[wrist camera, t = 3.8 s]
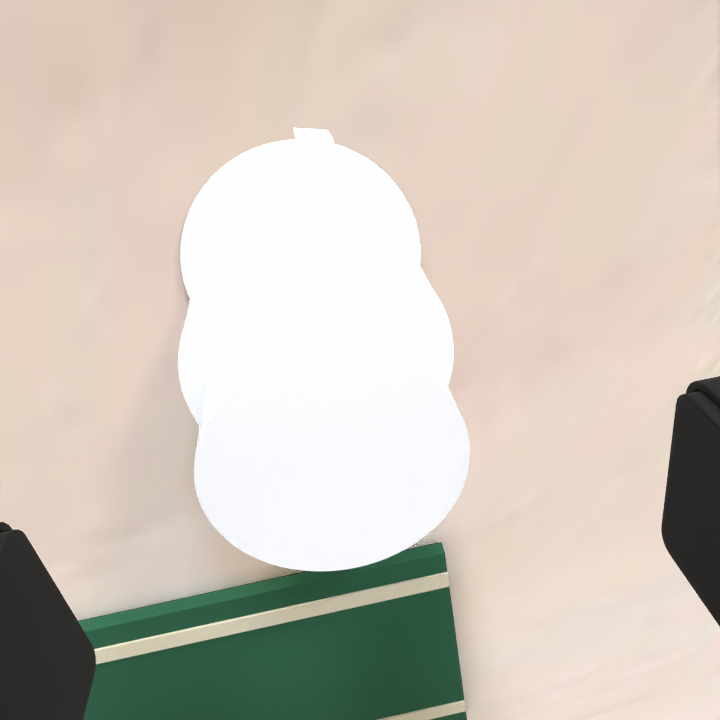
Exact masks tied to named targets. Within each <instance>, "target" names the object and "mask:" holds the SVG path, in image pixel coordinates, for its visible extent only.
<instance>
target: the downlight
mask: <svg viewBox="0 0 720 720" xmlns="http://www.w3.org/2000/svg"><path fill="white" fill-rule="evenodd" d="M293 130H294V133H295V137H296V139H292V140H282V141H277V142H272V143H268V144H265V145H262V146H258V147H256V148H253V149H251V150H249V151H246V152H244V153H243V154H241V155H239V156H237V157H235V158H234V159H232V160H231V161H230V162H228V163H227V164H225V165H224V166H223V167H222V168H221V169H219V170H218V171H217V172H216V173H215V174H214V175H213V176H212V177H211V178H210V179H209V180H208V181H207V183H206V184H205V185H204V187H203V188H202V189H201V191H200V192H199V194H198V195H197V197H196V199H195V200H194V202H193V204H192V206H191V209H190V211H189V213H188V216H187V219H186V222H185V225H184V229H183V233H182V238H181V248H180V262H181V270H182V276H183V280H184V284H185V287H186V290H187V293H188V296H189V298H190V302H189V306H188V311H187V315H186V319H185V323H184V327H183V331H182V335H181V340H180V344H179V353H178V372H179V380H180V384H181V388H182V392H183V395H184V398H185V401H186V403H187V405H188V407H189V409H190V411H191V413H192V415H193V416H194V418H195V420H196V421H197V423H198V424H199V425H200V426H199V433H198V440H197V447H196V454H195V461H194V482H195V488H196V492H197V496H198V499H199V502H200V504H201V507H202V509H203V511H204V513H205V514H206V516H207V518H208V519H209V521H210V522H211V523H212V525H213V526H214V527H215V528H216V530H217V531H218V532H219V533H220V534H221V535H222V536H223V537H224V538H225V539H226V540H228V541H229V542H230V543H231V544H233V545H234V546H235V547H237V548H238V549H240V550H242V551H243V552H245V553H247V554H248V555H250V556H252V557H255V558H257V559H259V560H261V561H264V562H267V563H269V564H273V565H276V566H280V567H284V568H289V569H295V570H303V571H337V570H345V569H352V568H357V567H361V566H365V565H369V564H372V563H375V562H378V561H381V560H384V559H386V558H389V557H391V556H393V555H395V554H397V553H399V552H401V551H403V550H405V549H407V548H408V547H410V546H412V545H413V544H415V543H416V542H418V541H419V540H421V539H422V538H423V537H424V536H426V535H427V534H428V533H429V532H431V531H432V530H433V529H434V528H435V527H436V526H437V525H438V524H439V523H440V522H441V521H442V520H443V519H444V518H445V516H446V515H447V514H448V512H449V511H450V510H451V508H452V507H453V505H454V504H455V502H456V501H457V499H458V497H459V495H460V493H461V491H462V489H463V486H464V483H465V481H466V477H467V473H468V469H469V462H470V443H469V436H468V432H467V428H466V425H465V422H464V420H463V417H462V415H461V413H460V411H459V409H458V407H457V405H456V403H455V401H454V398H453V396H452V394H451V392H450V390H449V388H448V384H449V381H450V377H451V373H452V368H453V359H454V345H453V335H452V331H451V326H450V322H449V319H448V316H447V314H446V311H445V309H444V307H443V305H442V303H441V301H440V299H439V298H438V296H437V294H436V293H435V291H434V289H433V287H432V286H431V284H430V282H429V281H428V279H427V277H426V275H425V274H424V272H423V270H422V268H421V267H420V260H421V245H420V237H419V232H418V227H417V223H416V220H415V217H414V215H413V212H412V210H411V208H410V206H409V203H408V202H407V200H406V198H405V197H404V195H403V193H402V192H401V190H400V189H399V188H398V186H397V185H396V184H395V182H394V181H393V180H392V179H391V178H390V177H389V176H388V175H387V174H386V173H385V172H384V171H383V170H382V169H381V168H380V167H379V166H377V165H376V164H375V163H373V162H372V161H370V160H369V159H368V158H366V157H364V156H362V155H361V154H359V153H357V152H355V151H353V150H350V149H348V148H346V147H343V146H340V145H337V144H334V143H333V138H332V136H331V134H330V133H329V131H328V130H322V129H305V128H293Z"/></svg>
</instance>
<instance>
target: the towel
mask: <svg viewBox="0 0 720 720" xmlns="http://www.w3.org/2000/svg"><path fill="white" fill-rule="evenodd" d="M449 587H450V585H449V578H448V572H447V567H446V559H445V552H444V549H443V546H442V543H441V542H440V543H435V544H430V545H426V546H421V547H417V548H412V549H407V550H403V551H401V552H399V553H397V554H395V555H393V556H391V557H389V558H386V559H384V560H381V561H378V562H375V563H372V564H369V565H365V566H361V567H357V568H352V569H345V570H337V571H306V572H302V573H297V574H293V575H288V576H284V577H279V578H274V579H270V580H265V581H261V582H256V583H251V584H247V585H242V586H238V587H233V588H228V589H224V590H219V591H215V592H210V593H205V594H201V595H196V596H192V597H187V598H183V599H178V600H173V601H169V602H164V603H160V604H155V605H150V606H146V607H141V608H137V609H132V610H127V611H123V612H118V613H114V614H109V615H104V616H100V617H95V618H91V619H86V620H82V621H78V622H79V624H80V625H81V627H82V629H83V630H84V632H85V634H86V635H87V637H88V639H89V640H90V642H91V644H92V645H93V648H94V651H95V656H96V669H95V675H94V679H93V683H92V687H91V691H90V694H89V698H88V702H87V706H86V710H85V714H84V718H83V720H467V717H466V706H465V700H464V694H463V687H462V679H461V672H460V664H459V657H458V649H457V642H456V634H455V627H454V619H453V612H452V604H451V597H450V589H449Z"/></svg>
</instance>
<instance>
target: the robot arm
mask: <svg viewBox="0 0 720 720" xmlns="http://www.w3.org/2000/svg"><path fill="white" fill-rule="evenodd" d="M662 537H663V541H664V544H665V546H666V548H667V550H668V552H669V554H670V555H671V557H672V558H673V560H674V561H675V563H676V564H677V565H678V567H679V568H680V570H681V571H682V573H683V574H684V576H685V577H686V578H687V580H688V581H689V583H690V584H691V586H692V587H693V589H694V590H695V591H696V593H697V594H698V596H699V597H700V599H701V600H702V602H703V603H704V604H705V606H706V607H707V609H708V610H709V612H710V613H711V615H712V616H713V617H714V619H715V620H716V622H717V623H718V625H719V626H720V376H719V377H714V378H709V379H704V380H700V381H695V382H693V383H690V385H689V386H688V388H687V391H686V394H683V395H680V396H679V397H678V399H677V403H676V410H675V418H674V427H673V435H672V443H671V452H670V460H669V469H668V477H667V486H666V494H665V502H664V511H663V519H662ZM95 669H96V656H95V651H94V648H93V645H92V644H91V642H90V640H89V639H88V637H87V635H86V634H85V632H84V630H83V629H82V627H81V625H80V624H79V622H78V621H77V619H76V617H75V616H74V614H73V612H72V611H71V609H70V607H69V606H68V604H67V602H66V601H65V599H64V598H63V596H62V594H61V593H60V591H59V589H58V588H57V586H56V584H55V583H54V581H53V579H52V578H51V576H50V575H49V573H48V571H47V570H46V568H45V566H44V565H43V563H42V561H41V560H40V558H39V556H38V555H37V553H36V552H35V550H34V548H33V547H32V545H31V543H30V542H29V540H28V538H27V537H26V535H25V534H24V533H23V532H22V531H20V530H12V528H11V527H10V526H9V525H8V524H6V523H4V522H0V720H83V718H84V714H85V710H86V706H87V702H88V698H89V694H90V691H91V687H92V683H93V679H94V675H95Z"/></svg>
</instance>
